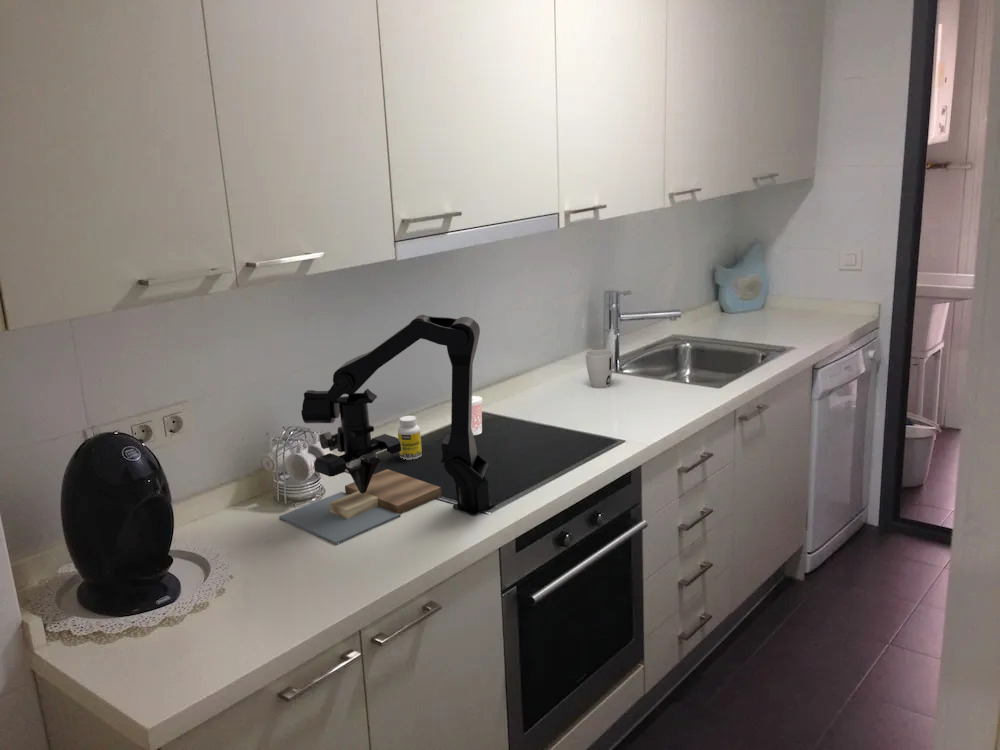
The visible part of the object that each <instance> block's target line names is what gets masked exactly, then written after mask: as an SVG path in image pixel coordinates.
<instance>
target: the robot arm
mask: <svg viewBox="0 0 1000 750" xmlns="http://www.w3.org/2000/svg"><path fill="white" fill-rule="evenodd" d="M480 333H481V329H480V325H479V323H478V322H477V321H476V320H475V319H474V318H471V317H469V316H461V317H458V318H455V317H454V318H453V317H443V316H441V317H440V316H430V315H425V314H419V315H417V316H415V318H413V319H412V320H411V321H410V322H409V323H407V325H405V326H404V327H402V328H400V330H398V331H397V332H395V333H393V335H392V336H390V337H388V338H387V339H386V340H385V341H383V342H382V343H380V344H379V345H378V346H376V347H375V348H373V349H372V350H370V351H368V352H366V353H363V354H361V355H358V356H356V357H354V358H352V359H349V360H348V361H346V362H345V363H344V364H342V365H341V366H340V367H339V368H337V369H336V371H335V372H334V373H333V375H332V376H333V377H332V382H333V384H332V385H331V387H330V389H328V390H313V389H312V390H311V389H309V390H308V389H307V390H306V391H305V392H304V393H303V402H302V405H301V406H302V409H301V411H300V412H301V418H302V420H303V422H304V424H333V423H334V422H335V421H336V419H338V418H339V417H340V424H341V425H340V426H339V427H337V433H334V434H332V433H331V431H327V432H324V433H321V434H319V444H320V447H321V448H322V449H323V450H326V449H328V450H329V452H333V451H335V450H337V452H339V453H343V454H342V455H336V454H334V453H327V454H323V455H321V456H318V457H316V458H315V459H314V462H313V467H314V472H316V473H320V474H321V475H324V476H326V477H327V476H328V477H335V476H338V475H340V474H344V473H345V471H347V472H348V473H349V475H350V476H351V478H352V480H353V482H355V484H356V486H357V488H358V490H359V492H360V493H362V494H363V493H366V491H367V488H368V485H369V483H370V480H371V478H372V475H374V474H375V471H376V469H377V467H378V465H379V463H381V461H382V459H381V458H379V457H377V453H379V452H381V451H384V450H386V452H388V454H390V455H393V454H396V453H399V451H401V450H402V448H401V442H400V440H399V439H398V437H396V436H393V435H389V434H386V433H383V434H381V435H378V436H375V437H372V435H371V433H373V432H374V431H375V428H374V425H370V418H369V417H370V416H369V407H368V406H369V405H368V404H372V403H373V402H375V401H376V399H377V398H378V396H377V394H375V393H374V392H372V391H371V390H370V389H369V388H366V389H365V390H364V391H363V392H357V391H358V390H359V389H360V388H362V386H364V384H365V383H366V382H367V381H369V380H370V378H371V377H372V376H373V375H374V374H375V373H376V372H377V370H379V369H380V368H381V367H382V366H384V365H385V364H387V363H388V362H390V361H391V360H392V359H394V358H395V357H397V356H398V355H399V354H401V353H403V351H406V350H407V348H409V347H411V346H412V345H413V344H414V343H416V342H417V341H419V340H420V339H422V340H426V341H428V342H431V343H435V344H437V345H439V346H440V345H441V346H446V349H447V350H446V351H447V356H448V358H449V361H450V364H451V409H450V410H451V414H450V416H451V419H450V420H451V424H450V425H451V426H450V427H451V428H450V429H451V431H450V434H448V433H447V434H446V436H445V437H444V439H443V440H442V443H441V451H442V459H441V461H440V463H441V464H443V467H444V470H445V472H446V473H448V475H450V476H451V477H452V479H453V481H454V483H455V491H456V502H457V503H455V504H453V505H452V509H453V510H456V511H460V512H463V513H465V514H468V515H470V516H475V515H476V516H477V515H478V514H480V513H482V511H483V512H484V510H485V511H487V510H489V509H491V508H493V507H495V506H496V503H495V502H493V501H490V493H489V480H488V479H487V478H486V476H485V473H486V472H487V470H488V467H489V462H488V461H487V460H485V458H483V457H482V455H480V453H478V451H477V444H476V439H475V435H473V433H472V429H471V419H472V396H473V368H474V367H473V363H474V360H475V355H476V352H477V348H478V343H479V338H480ZM344 395H347V396H344ZM488 508H489V509H488ZM486 509H487V510H486Z"/></svg>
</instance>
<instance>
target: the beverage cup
mask: <svg viewBox="0 0 1000 750" xmlns="http://www.w3.org/2000/svg"><path fill="white" fill-rule="evenodd" d="M482 407H483V396H478V395H472V419H471V429H472V433H473V436H477V435H480V434H482V432H483V419H482V418H483V416H482V415H483V412H482V411H483V410H482V409H483V408H482Z"/></svg>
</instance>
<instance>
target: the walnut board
mask: <svg viewBox="0 0 1000 750" xmlns="http://www.w3.org/2000/svg"><path fill="white" fill-rule="evenodd" d="M358 491H359V490H358V488H357V486H356V484H355V482H354V481H353V482H351V483H349V484H346V485H344V493H347V494H349V495H350V494H353V493H355V492H358ZM366 493H368V494H371V495H373V496H376V497H378V505H379V506H380V507H383V508H385V509H388V510H390V511H393V512H395V513H398V514H400V515H401V514H403V513H406V512H408V511H410V510H413V509H415V508H417V507H420V506H422V505H423V504H424V505H425V504H427V503H429V502H431V501H434V500H435V499H438V498H439V496H440V497H441V496H442V488H441V486H438V485H435V484H432V483H429V482H426V481H424V480H422V479H418V478H415V477H411V476H408V475H406V474H403V473H400V472H397V471H394V470H391V469H388V468H387V469H383V470H381V471H379V472H377V473H373V475H372V478H371V480H370V483H369V485H368V488H367V491H366ZM437 497H438V498H437Z"/></svg>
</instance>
